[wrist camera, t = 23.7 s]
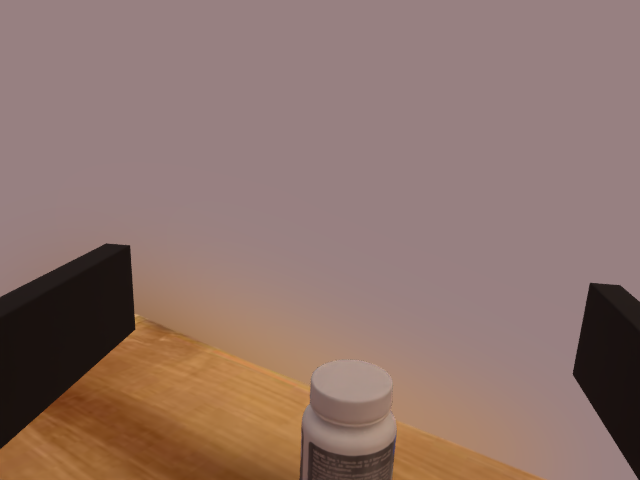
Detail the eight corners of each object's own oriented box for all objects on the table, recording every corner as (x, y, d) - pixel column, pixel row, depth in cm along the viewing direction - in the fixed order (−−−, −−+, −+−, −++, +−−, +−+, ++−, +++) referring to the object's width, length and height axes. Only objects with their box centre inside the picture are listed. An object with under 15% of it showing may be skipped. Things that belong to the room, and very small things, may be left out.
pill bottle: (406, 535, 27) (422, 390, 24) (327, 573, 24) (336, 417, 22) (354, 477, 31) (364, 347, 28) (282, 505, 28) (286, 366, 26)
